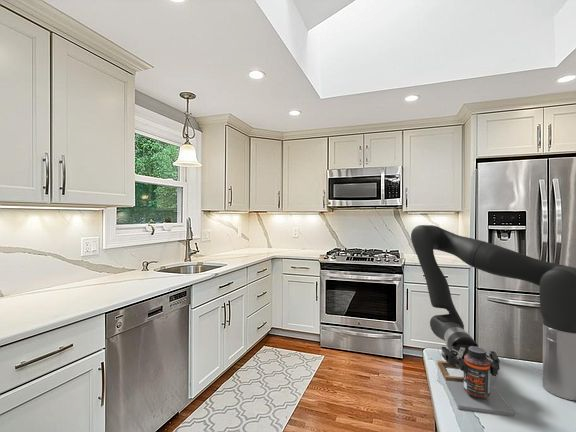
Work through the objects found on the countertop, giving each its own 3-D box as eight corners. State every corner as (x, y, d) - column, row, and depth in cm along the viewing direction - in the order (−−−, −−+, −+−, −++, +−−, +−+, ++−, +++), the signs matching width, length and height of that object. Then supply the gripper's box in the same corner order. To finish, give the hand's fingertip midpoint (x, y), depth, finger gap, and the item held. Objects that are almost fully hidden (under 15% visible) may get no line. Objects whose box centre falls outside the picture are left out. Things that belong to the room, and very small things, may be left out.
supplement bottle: (463, 395, 81) (463, 351, 81) (463, 384, 86) (463, 342, 86) (491, 401, 78) (491, 356, 78) (489, 389, 83) (489, 347, 83)
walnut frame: (473, 368, 98) (473, 364, 98) (486, 385, 88) (486, 381, 88) (437, 364, 101) (437, 360, 101) (445, 381, 90) (445, 376, 90)
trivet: (493, 388, 86) (493, 385, 86) (514, 416, 75) (514, 412, 75) (445, 383, 89) (445, 380, 89) (458, 408, 77) (458, 405, 77)
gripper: (434, 329, 97) (449, 353, 81) (487, 333, 94) (513, 359, 78) (434, 353, 98) (449, 382, 81) (486, 358, 94) (512, 389, 78)
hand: (480, 370), depth 80 cm, fingers closed on supplement bottle, 6 cm apart
